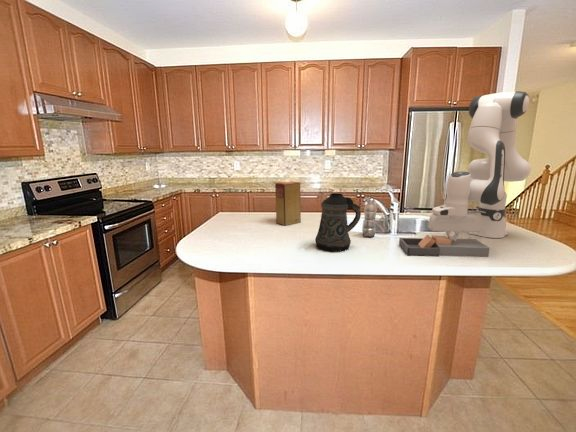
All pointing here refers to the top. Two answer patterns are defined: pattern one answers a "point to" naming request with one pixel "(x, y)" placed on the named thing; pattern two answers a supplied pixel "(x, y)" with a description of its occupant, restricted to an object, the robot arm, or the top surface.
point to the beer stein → (336, 223)
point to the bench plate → (463, 248)
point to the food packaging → (288, 203)
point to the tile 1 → (426, 242)
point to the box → (416, 248)
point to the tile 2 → (441, 240)
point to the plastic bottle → (370, 218)
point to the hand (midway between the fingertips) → (451, 240)
